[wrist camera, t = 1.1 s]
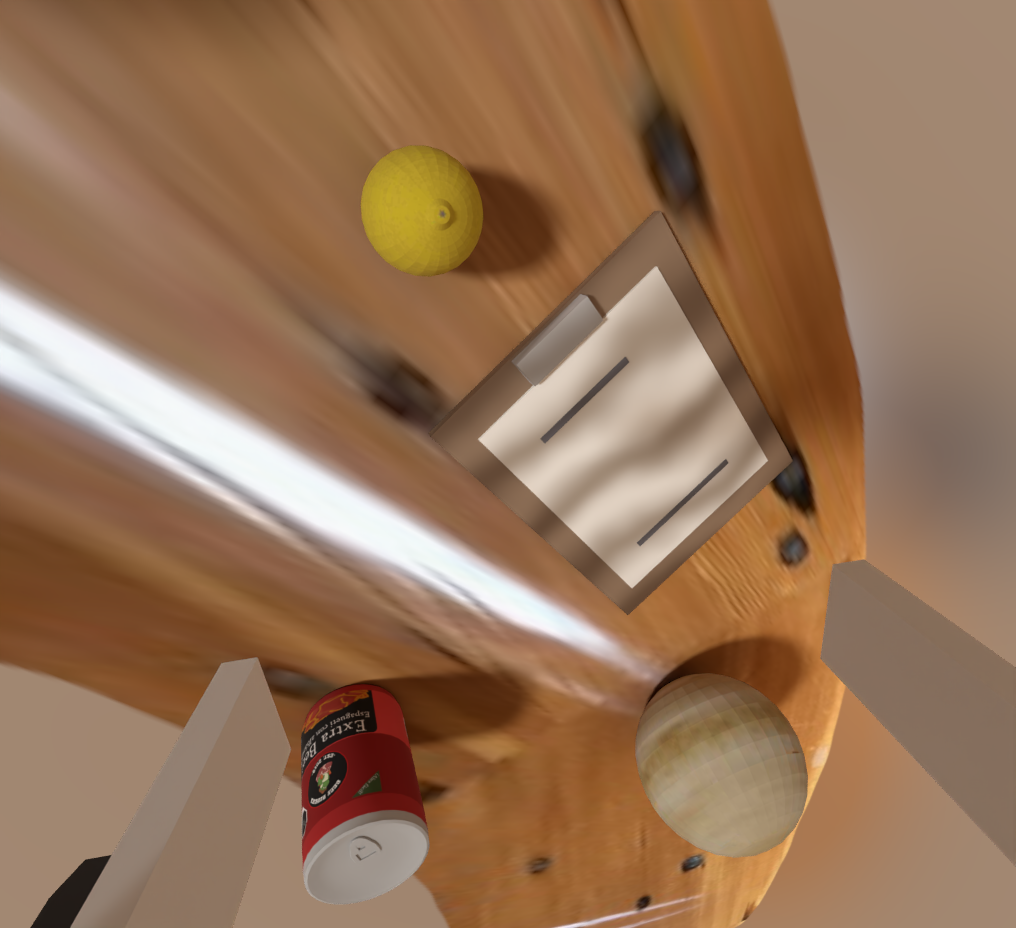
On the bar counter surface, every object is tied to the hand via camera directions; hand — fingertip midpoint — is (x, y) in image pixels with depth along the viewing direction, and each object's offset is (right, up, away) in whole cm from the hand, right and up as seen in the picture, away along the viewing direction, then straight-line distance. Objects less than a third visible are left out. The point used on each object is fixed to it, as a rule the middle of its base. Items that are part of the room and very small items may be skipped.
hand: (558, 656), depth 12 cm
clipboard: (+9, +6, +28) cm, 30 cm away
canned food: (-14, -16, +30) cm, 36 cm away
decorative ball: (+16, -20, +44) cm, 51 cm away
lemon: (-7, +18, +16) cm, 25 cm away
